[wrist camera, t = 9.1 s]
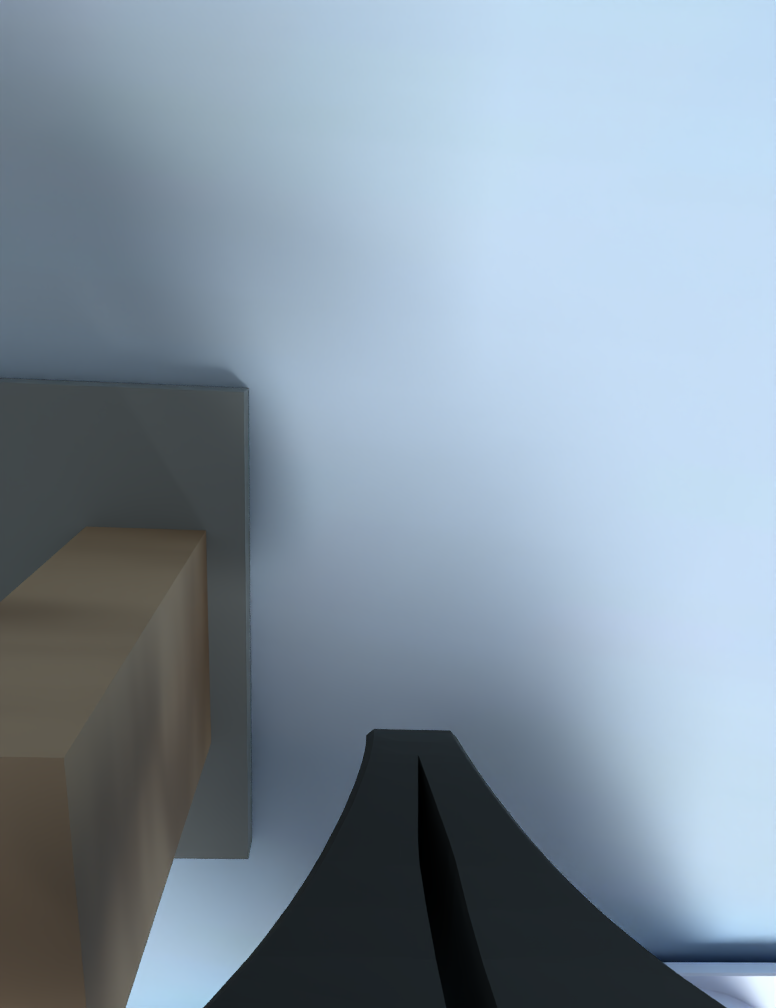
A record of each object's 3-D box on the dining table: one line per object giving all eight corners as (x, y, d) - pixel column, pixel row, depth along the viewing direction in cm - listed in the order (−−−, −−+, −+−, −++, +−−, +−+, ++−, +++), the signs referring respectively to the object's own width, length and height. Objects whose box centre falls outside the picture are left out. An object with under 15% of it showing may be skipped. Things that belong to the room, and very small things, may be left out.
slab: (211, 742, 16) (94, 1102, 9) (97, 740, 16) (-113, 1103, 9) (206, 530, 15) (63, 757, 8) (81, 526, 15) (-182, 753, 8)
